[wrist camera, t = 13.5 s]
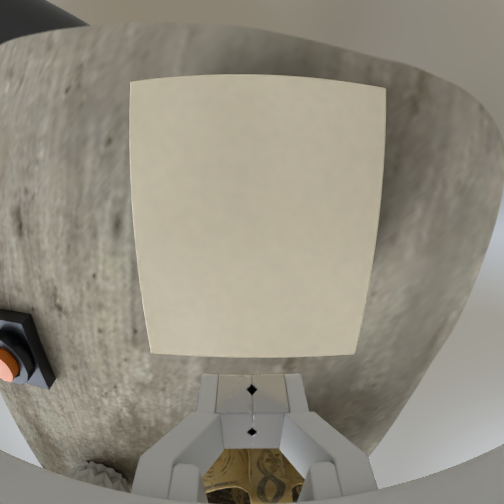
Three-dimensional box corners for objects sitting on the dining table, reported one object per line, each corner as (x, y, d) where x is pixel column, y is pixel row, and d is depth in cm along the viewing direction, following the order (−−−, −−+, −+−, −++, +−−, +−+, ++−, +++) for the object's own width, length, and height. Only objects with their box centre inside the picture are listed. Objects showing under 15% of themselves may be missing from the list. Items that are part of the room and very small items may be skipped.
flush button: (-9, 344, 26) (-16, 352, 25) (12, 350, 26) (4, 358, 25) (3, 369, 28) (-4, 378, 26) (24, 376, 28) (17, 385, 26)
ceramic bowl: (188, 379, 32) (165, 501, 17) (344, 377, 32) (382, 491, 18) (206, 474, 39) (200, 555, 25) (315, 472, 40) (328, 551, 26)
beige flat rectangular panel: (352, 347, 19) (355, 354, 18) (154, 346, 19) (150, 353, 18) (380, 89, 14) (386, 87, 13) (135, 83, 14) (130, 81, 13)
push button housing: (-11, 307, 29) (-28, 322, 25) (31, 313, 29) (13, 332, 25) (14, 368, 32) (1, 385, 28) (56, 378, 32) (43, 399, 29)
